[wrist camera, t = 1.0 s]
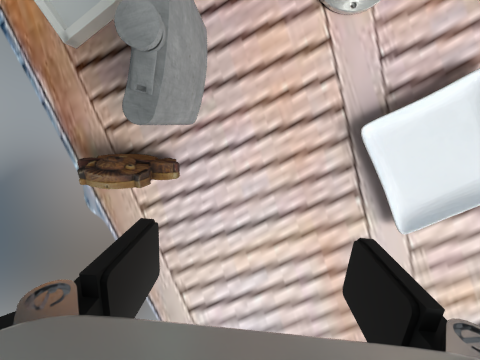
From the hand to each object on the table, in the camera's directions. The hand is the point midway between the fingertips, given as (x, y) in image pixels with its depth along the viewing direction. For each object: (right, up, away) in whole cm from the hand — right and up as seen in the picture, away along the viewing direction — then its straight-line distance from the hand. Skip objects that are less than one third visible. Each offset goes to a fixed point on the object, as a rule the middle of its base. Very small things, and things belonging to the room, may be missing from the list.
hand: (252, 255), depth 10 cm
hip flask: (-8, +21, +26) cm, 34 cm away
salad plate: (+33, +8, +28) cm, 44 cm away
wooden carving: (-19, +7, +30) cm, 36 cm away
